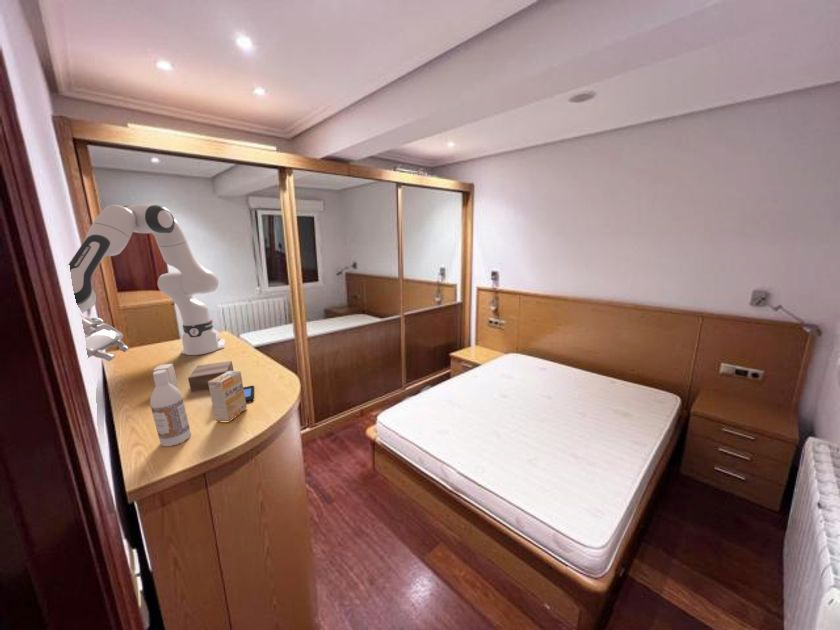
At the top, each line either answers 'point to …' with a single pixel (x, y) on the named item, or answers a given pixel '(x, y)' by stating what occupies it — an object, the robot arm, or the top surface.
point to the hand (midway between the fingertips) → (120, 354)
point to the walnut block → (207, 375)
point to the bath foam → (168, 411)
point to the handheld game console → (248, 393)
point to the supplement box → (227, 395)
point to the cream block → (168, 373)
